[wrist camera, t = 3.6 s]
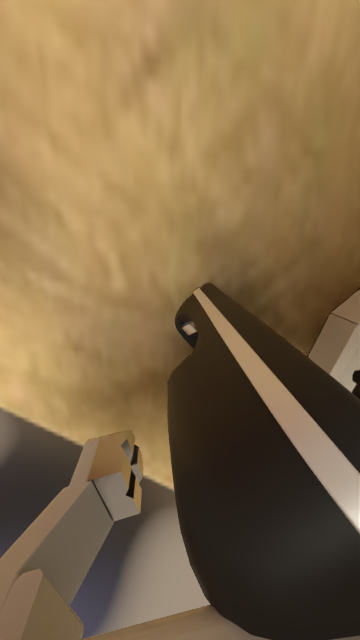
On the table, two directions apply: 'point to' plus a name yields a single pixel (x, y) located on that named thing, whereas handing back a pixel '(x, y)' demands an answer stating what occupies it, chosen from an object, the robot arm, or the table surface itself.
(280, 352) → the battery charger
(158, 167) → the table surface
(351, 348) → the tray
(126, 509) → the robot arm
